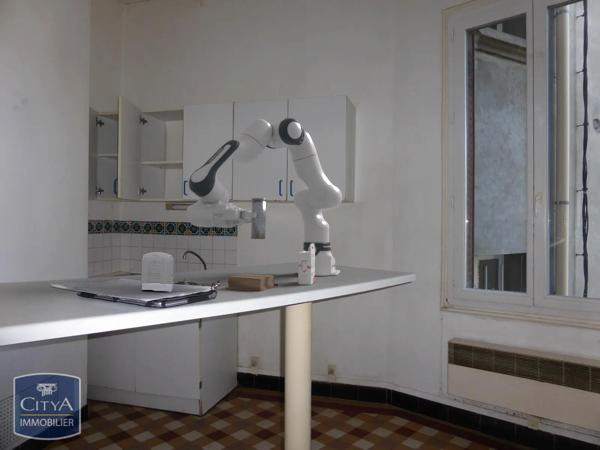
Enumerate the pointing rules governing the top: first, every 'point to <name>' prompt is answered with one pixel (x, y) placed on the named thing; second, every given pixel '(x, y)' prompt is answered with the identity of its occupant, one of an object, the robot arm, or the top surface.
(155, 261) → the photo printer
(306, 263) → the ink cartridge box
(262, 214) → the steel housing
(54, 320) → the top surface
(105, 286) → the top surface
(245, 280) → the walnut plinth
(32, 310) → the top surface
